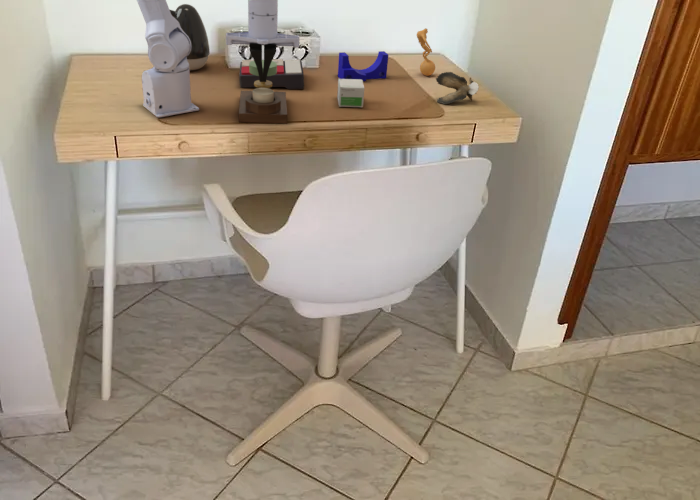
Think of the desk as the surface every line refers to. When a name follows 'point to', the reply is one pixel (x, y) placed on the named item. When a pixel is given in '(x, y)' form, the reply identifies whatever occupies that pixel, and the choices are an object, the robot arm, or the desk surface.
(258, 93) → the lamp switch
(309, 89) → the desk surface
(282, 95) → the lamp base
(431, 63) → the figurine
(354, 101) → the small box
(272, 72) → the lamp
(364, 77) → the blue u-shaped cradle
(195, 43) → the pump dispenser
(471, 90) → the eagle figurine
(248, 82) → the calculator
